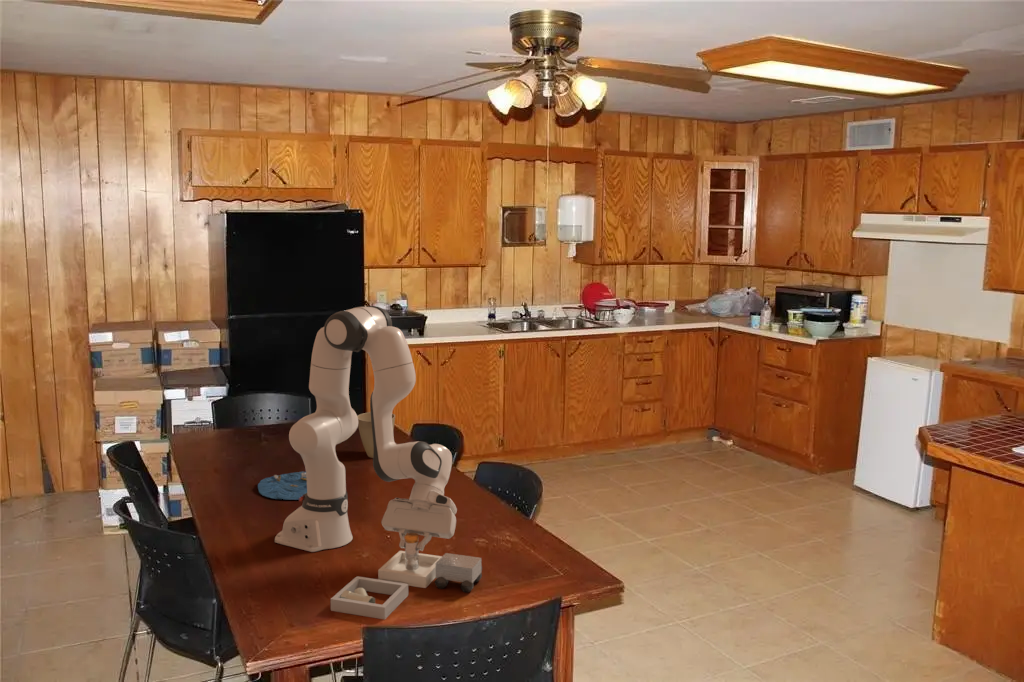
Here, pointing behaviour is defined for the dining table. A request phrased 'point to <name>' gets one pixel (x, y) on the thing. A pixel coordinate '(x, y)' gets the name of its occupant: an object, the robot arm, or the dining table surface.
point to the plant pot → (368, 432)
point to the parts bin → (366, 608)
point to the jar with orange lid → (411, 551)
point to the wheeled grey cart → (458, 571)
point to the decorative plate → (284, 486)
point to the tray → (398, 572)
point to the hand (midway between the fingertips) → (410, 548)
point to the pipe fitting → (358, 595)
